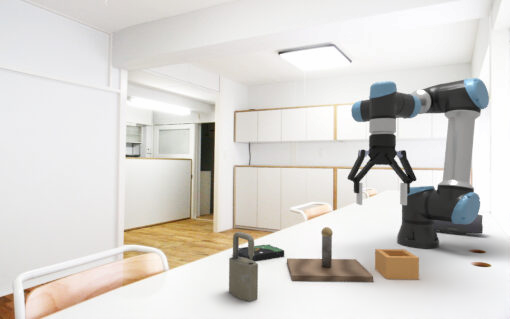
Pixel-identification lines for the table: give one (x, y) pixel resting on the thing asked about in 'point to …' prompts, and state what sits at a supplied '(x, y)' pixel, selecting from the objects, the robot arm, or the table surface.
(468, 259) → the table surface
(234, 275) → the padlock
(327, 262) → the wooden peg board
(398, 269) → the hollow square frame
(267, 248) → the disk drive
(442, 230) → the bluetooth speaker
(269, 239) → the table surface
